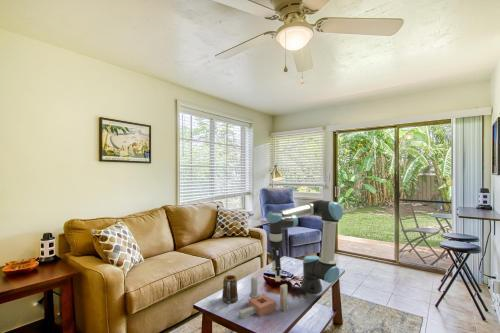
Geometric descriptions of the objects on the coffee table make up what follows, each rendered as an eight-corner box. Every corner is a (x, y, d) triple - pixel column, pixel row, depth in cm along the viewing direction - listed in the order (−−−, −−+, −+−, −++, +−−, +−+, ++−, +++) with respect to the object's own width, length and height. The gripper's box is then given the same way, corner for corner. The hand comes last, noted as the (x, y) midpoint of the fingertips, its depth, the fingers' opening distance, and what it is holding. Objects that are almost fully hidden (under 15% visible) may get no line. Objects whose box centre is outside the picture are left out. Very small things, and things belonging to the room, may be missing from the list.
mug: (223, 295, 177) (223, 274, 177) (238, 296, 176) (238, 274, 177) (219, 308, 161) (219, 284, 161) (236, 308, 161) (236, 284, 161)
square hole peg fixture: (258, 298, 173) (258, 274, 173) (275, 309, 159) (275, 283, 159) (230, 309, 160) (230, 283, 160) (246, 322, 146) (246, 294, 146)
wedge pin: (284, 307, 162) (284, 283, 162) (288, 310, 159) (288, 285, 159) (279, 310, 159) (279, 285, 159) (282, 312, 156) (282, 287, 157)
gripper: (267, 234, 164) (267, 267, 164) (272, 246, 139) (272, 285, 139) (278, 234, 164) (279, 267, 164) (285, 246, 139) (286, 285, 139)
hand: (276, 276), depth 152 cm, fingers open, 13 cm apart
